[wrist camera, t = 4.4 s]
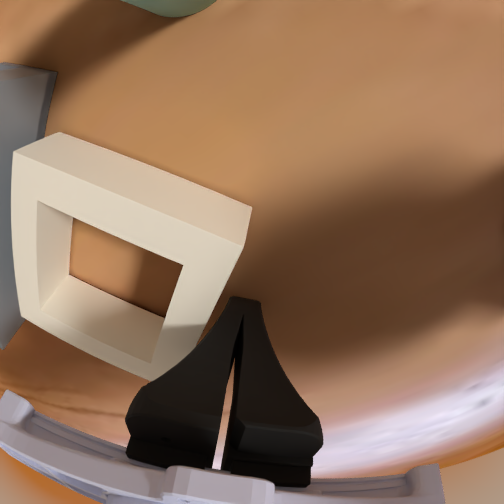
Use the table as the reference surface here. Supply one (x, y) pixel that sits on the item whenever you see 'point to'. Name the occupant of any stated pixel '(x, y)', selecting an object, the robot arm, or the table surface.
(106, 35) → the table surface
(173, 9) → the dowel
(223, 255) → the block
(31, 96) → the wall
